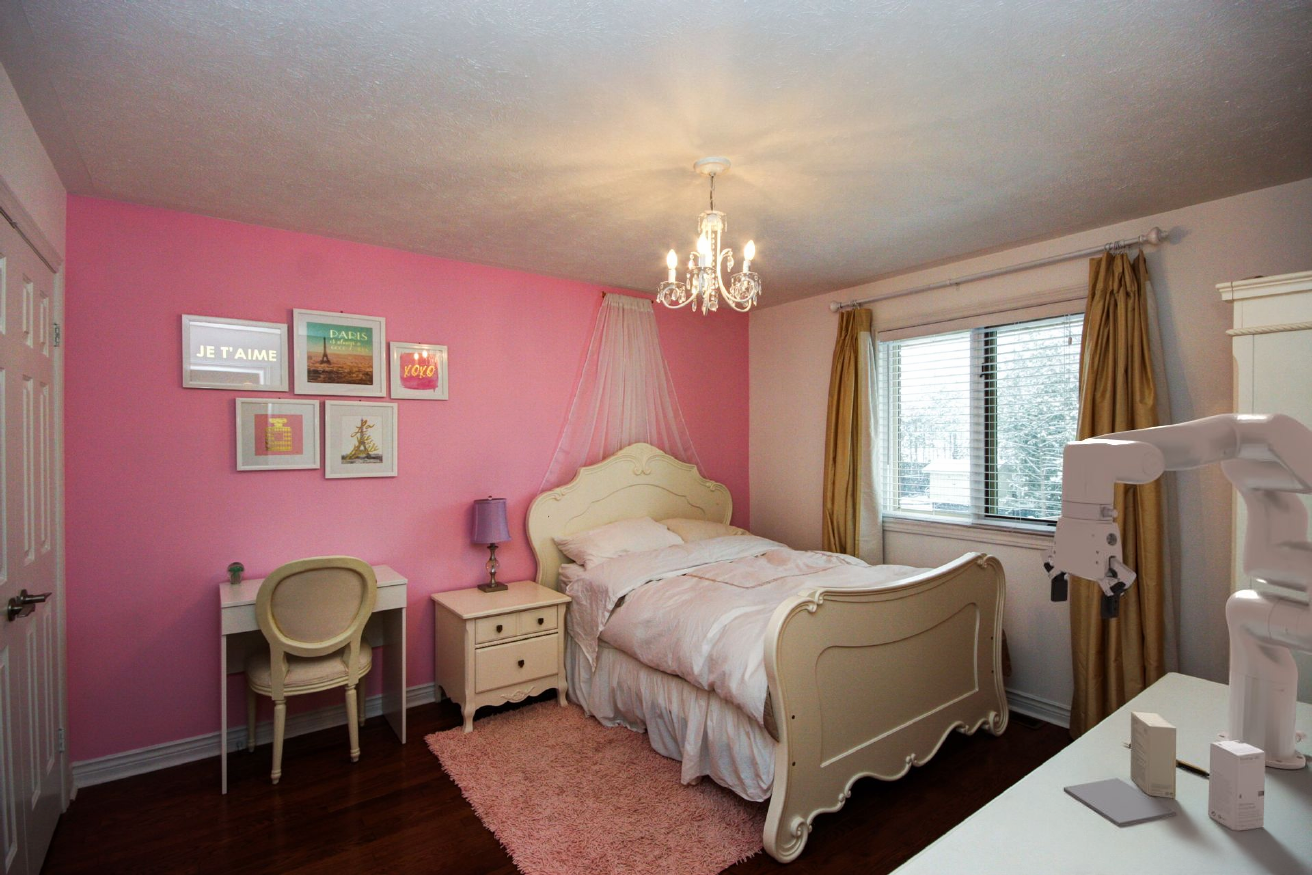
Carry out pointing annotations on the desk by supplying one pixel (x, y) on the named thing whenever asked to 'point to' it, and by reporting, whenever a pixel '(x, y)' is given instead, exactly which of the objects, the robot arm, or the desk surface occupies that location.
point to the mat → (1119, 801)
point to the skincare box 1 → (1153, 754)
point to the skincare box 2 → (1236, 785)
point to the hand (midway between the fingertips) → (1083, 608)
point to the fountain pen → (1186, 766)
